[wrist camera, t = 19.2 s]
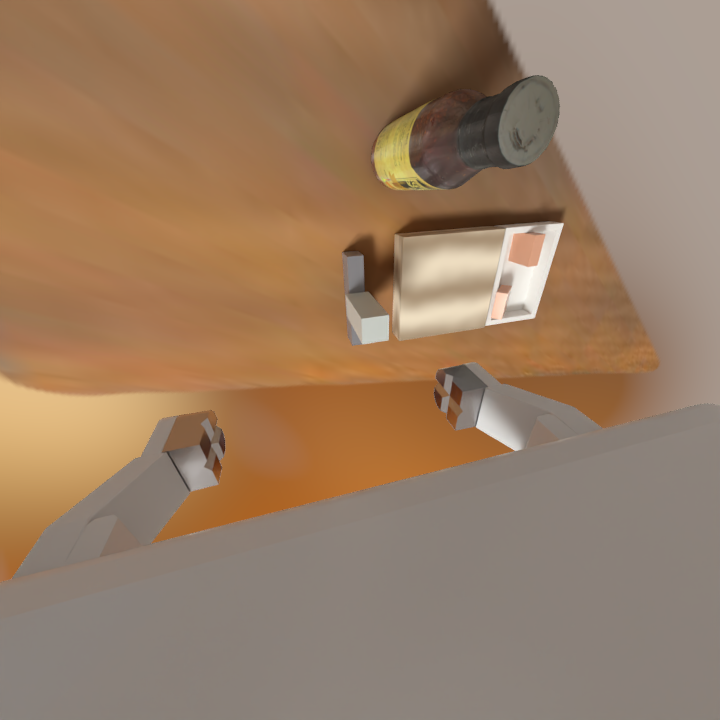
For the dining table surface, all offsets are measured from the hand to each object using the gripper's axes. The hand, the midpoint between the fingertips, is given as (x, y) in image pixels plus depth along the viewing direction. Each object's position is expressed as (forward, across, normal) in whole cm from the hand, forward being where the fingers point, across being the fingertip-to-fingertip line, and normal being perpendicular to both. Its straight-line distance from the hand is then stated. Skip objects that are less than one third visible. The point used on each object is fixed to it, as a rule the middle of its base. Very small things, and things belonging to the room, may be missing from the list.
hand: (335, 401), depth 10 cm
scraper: (+29, -7, +7) cm, 31 cm away
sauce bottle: (+29, -13, -9) cm, 33 cm away
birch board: (+29, -20, +6) cm, 36 cm away
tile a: (+27, -31, +2) cm, 41 cm away
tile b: (+27, -29, +9) cm, 41 cm away
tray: (+29, -32, +6) cm, 44 cm away
